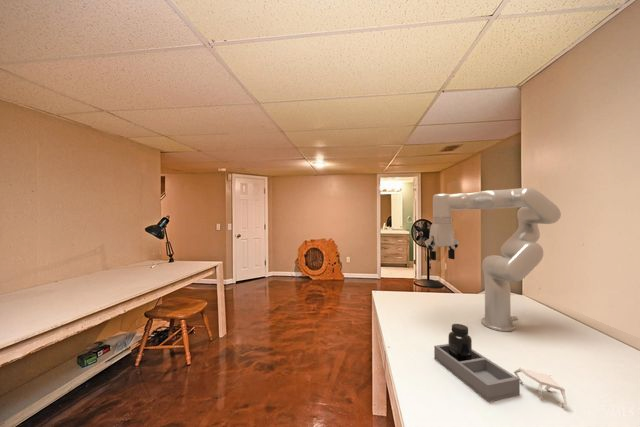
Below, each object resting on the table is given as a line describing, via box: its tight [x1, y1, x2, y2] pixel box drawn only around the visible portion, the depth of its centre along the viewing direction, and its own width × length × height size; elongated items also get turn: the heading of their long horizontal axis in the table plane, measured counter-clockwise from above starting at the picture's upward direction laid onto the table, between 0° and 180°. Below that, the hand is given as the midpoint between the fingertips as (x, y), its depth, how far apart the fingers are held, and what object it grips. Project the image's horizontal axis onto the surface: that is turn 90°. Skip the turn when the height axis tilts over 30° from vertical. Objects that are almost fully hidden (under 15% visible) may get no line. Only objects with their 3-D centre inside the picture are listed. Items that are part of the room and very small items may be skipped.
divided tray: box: [434, 343, 521, 403], centre depth 79 cm, size 11×21×4 cm, turn 14°
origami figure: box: [513, 367, 568, 409], centre depth 71 cm, size 12×8×5 cm
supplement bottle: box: [447, 323, 473, 362], centre depth 84 cm, size 7×7×12 cm
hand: (442, 259), depth 113 cm, fingers open, 9 cm apart
